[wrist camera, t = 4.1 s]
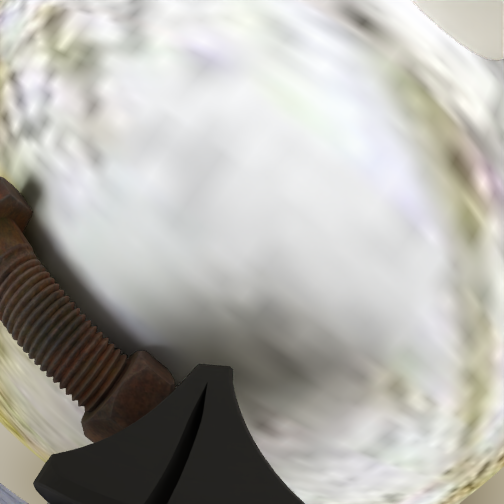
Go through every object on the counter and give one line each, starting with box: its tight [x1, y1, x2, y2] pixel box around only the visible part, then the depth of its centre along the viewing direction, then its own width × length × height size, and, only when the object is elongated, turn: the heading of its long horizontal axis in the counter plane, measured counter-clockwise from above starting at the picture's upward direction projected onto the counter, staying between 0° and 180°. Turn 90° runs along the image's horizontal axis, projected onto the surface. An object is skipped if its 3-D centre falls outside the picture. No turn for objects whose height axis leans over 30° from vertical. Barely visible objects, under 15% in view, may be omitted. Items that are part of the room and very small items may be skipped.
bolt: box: [0, 177, 175, 443], centre depth 9 cm, size 6×5×15 cm
